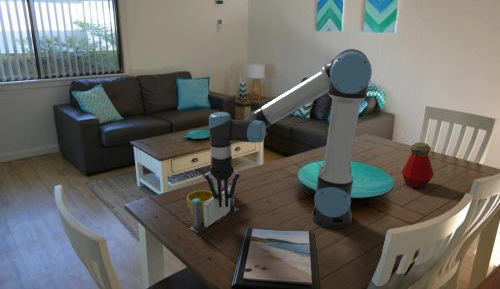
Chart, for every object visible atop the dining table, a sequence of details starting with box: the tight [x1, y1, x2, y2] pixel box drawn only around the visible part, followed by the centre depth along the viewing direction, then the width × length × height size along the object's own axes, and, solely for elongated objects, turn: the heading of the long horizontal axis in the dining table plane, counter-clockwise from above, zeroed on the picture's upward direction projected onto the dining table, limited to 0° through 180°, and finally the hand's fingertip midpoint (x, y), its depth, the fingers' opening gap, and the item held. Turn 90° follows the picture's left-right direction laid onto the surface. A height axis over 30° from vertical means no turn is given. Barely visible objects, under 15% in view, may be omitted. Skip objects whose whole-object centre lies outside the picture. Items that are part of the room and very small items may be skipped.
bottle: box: [401, 141, 435, 189], centre depth 177 cm, size 16×14×20 cm
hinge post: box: [228, 192, 240, 215], centre depth 156 cm, size 4×4×8 cm
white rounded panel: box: [203, 184, 235, 228], centre depth 149 cm, size 18×3×10 cm, turn 148°
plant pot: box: [186, 189, 213, 224], centre depth 149 cm, size 10×10×10 cm
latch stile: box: [188, 198, 207, 234], centre depth 141 cm, size 4×4×12 cm
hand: (224, 214), depth 146 cm, fingers closed
